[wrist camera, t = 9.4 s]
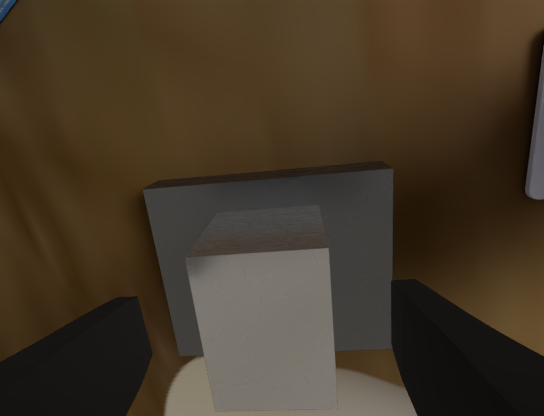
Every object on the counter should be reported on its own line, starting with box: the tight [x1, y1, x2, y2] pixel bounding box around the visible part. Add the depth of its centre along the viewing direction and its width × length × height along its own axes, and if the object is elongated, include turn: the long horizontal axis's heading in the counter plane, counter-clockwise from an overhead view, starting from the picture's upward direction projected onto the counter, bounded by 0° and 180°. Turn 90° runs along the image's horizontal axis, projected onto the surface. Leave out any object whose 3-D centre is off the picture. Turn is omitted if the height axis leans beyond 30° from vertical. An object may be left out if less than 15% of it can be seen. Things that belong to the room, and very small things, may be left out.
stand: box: [143, 161, 393, 356], centre depth 18 cm, size 12×10×2 cm
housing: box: [185, 205, 338, 412], centre depth 15 cm, size 7×5×5 cm
